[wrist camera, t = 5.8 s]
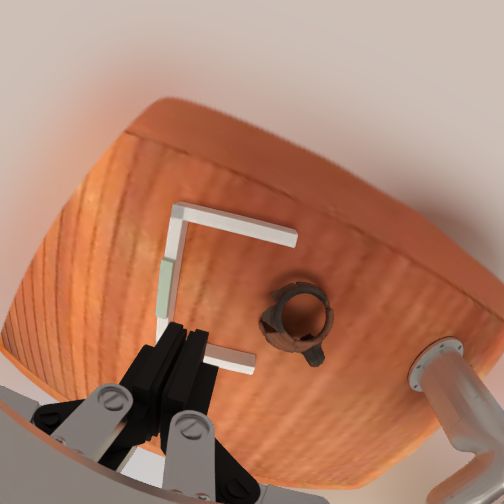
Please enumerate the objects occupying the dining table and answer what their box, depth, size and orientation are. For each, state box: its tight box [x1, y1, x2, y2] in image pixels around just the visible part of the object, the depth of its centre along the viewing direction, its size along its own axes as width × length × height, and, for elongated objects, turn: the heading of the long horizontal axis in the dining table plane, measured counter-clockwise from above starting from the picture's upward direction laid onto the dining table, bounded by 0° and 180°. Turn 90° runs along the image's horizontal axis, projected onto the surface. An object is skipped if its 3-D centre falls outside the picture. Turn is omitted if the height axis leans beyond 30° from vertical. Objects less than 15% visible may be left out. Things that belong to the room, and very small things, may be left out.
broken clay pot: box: [259, 282, 334, 367], centre depth 34 cm, size 12×10×8 cm
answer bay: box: [155, 201, 298, 375], centre depth 34 cm, size 14×21×4 cm
